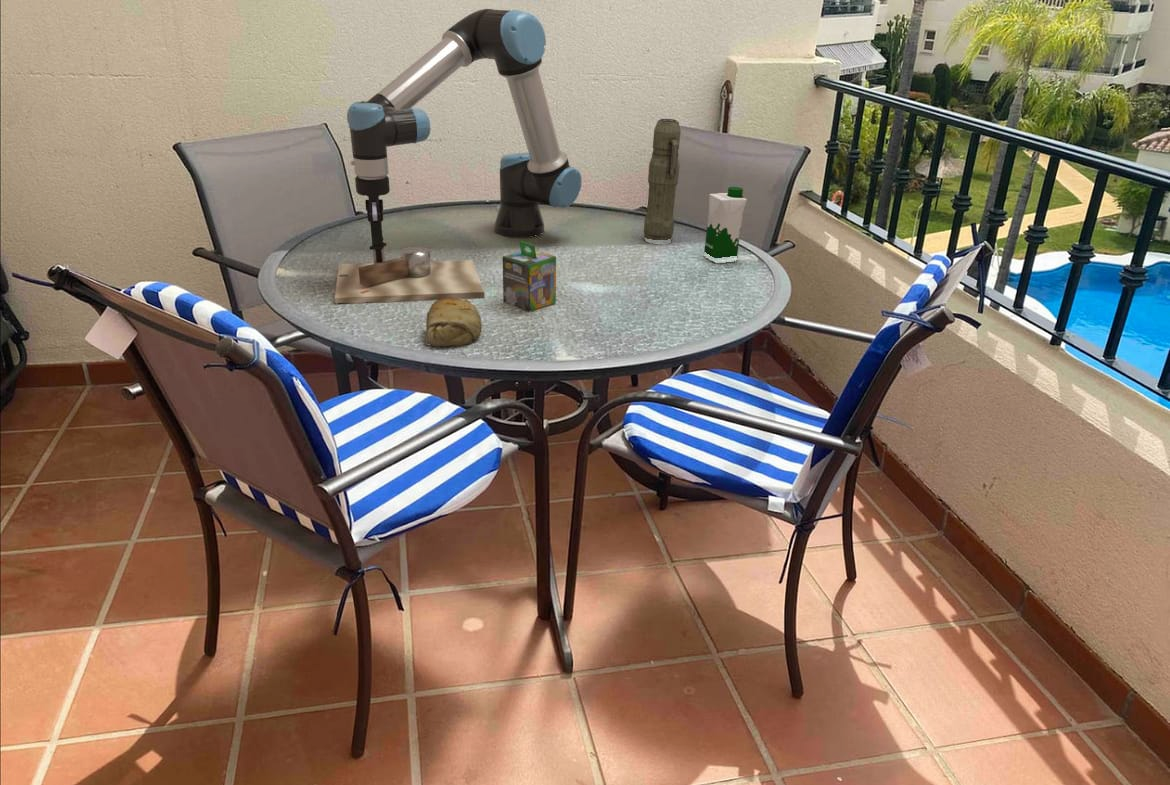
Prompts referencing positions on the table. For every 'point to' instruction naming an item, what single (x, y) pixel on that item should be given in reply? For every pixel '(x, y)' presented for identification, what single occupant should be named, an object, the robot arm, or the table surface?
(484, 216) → the table surface
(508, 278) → the chalk box
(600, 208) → the table surface
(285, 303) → the table surface
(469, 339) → the pastry
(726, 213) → the milk carton
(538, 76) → the robot arm
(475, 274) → the dial board
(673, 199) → the thermos
